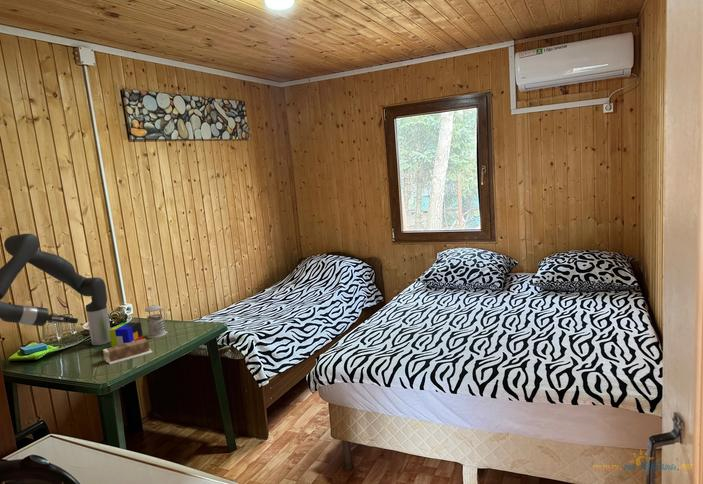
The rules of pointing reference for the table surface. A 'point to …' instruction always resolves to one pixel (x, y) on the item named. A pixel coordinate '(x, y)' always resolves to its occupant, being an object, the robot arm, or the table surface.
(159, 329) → the french press
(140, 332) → the puzzle toy
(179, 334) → the table surface
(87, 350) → the table surface
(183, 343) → the table surface
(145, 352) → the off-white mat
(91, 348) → the table surface
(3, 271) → the robot arm
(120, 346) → the walnut block
